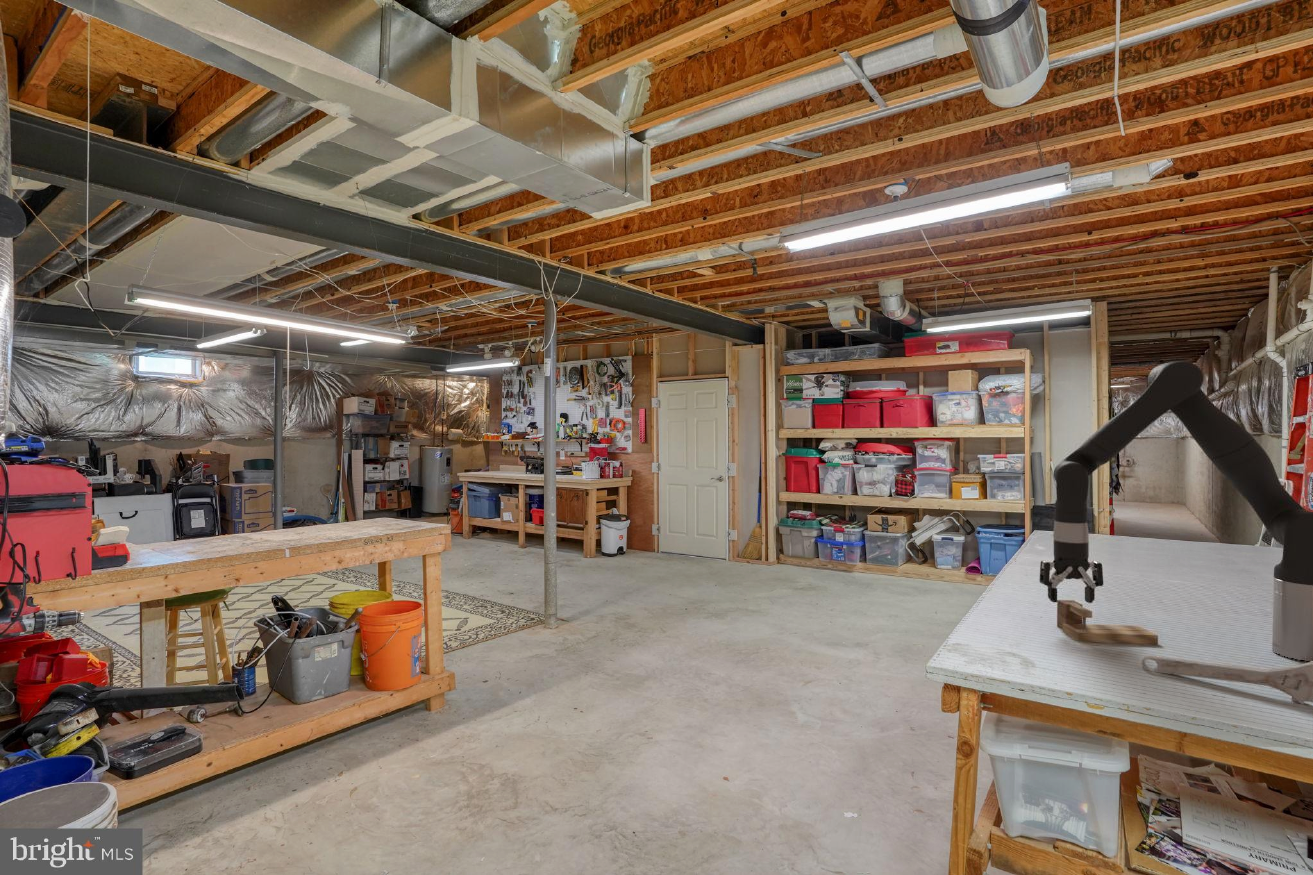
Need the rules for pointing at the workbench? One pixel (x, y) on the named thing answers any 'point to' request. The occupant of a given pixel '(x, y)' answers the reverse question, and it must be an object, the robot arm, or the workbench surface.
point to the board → (1110, 634)
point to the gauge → (1071, 613)
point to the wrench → (1244, 675)
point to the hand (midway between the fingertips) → (1071, 601)
